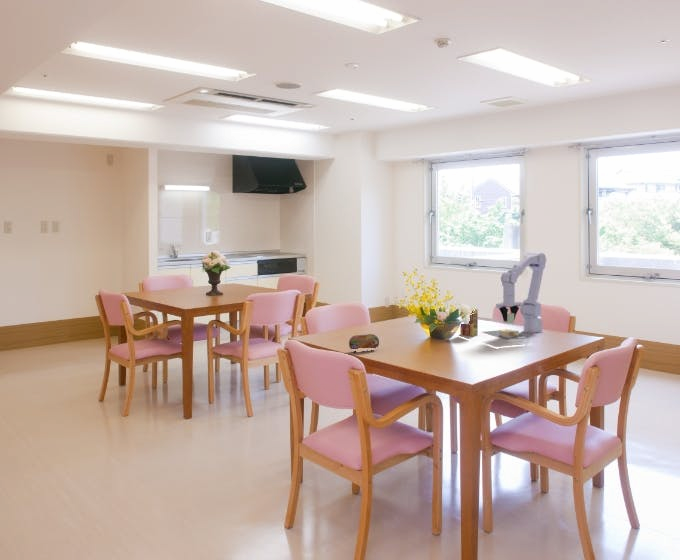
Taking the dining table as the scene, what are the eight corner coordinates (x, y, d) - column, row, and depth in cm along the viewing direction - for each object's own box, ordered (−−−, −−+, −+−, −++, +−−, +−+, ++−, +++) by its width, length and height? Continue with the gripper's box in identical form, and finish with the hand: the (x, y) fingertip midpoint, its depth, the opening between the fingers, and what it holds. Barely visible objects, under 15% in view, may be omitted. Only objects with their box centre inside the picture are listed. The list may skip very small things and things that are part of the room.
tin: (350, 353, 289) (349, 336, 288) (348, 352, 292) (347, 335, 291) (379, 350, 293) (379, 333, 292) (377, 349, 296) (377, 332, 295)
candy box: (478, 337, 319) (478, 309, 318) (473, 338, 317) (473, 309, 315) (465, 335, 326) (464, 307, 325) (460, 336, 323) (459, 308, 322)
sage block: (509, 321, 317) (509, 312, 316) (514, 322, 313) (514, 313, 313) (503, 322, 316) (503, 312, 315) (507, 323, 312) (507, 313, 311)
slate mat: (503, 331, 333) (503, 329, 332) (530, 339, 309) (530, 337, 309) (481, 333, 329) (481, 331, 328) (506, 341, 305) (506, 339, 305)
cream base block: (511, 334, 319) (511, 328, 319) (518, 336, 312) (518, 330, 312) (499, 335, 317) (499, 329, 317) (507, 337, 310) (506, 332, 310)
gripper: (516, 293, 319) (516, 318, 320) (492, 295, 314) (492, 320, 316) (524, 294, 312) (524, 320, 313) (500, 296, 308) (500, 322, 309)
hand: (509, 320), depth 314 cm, fingers closed on sage block, 4 cm apart
